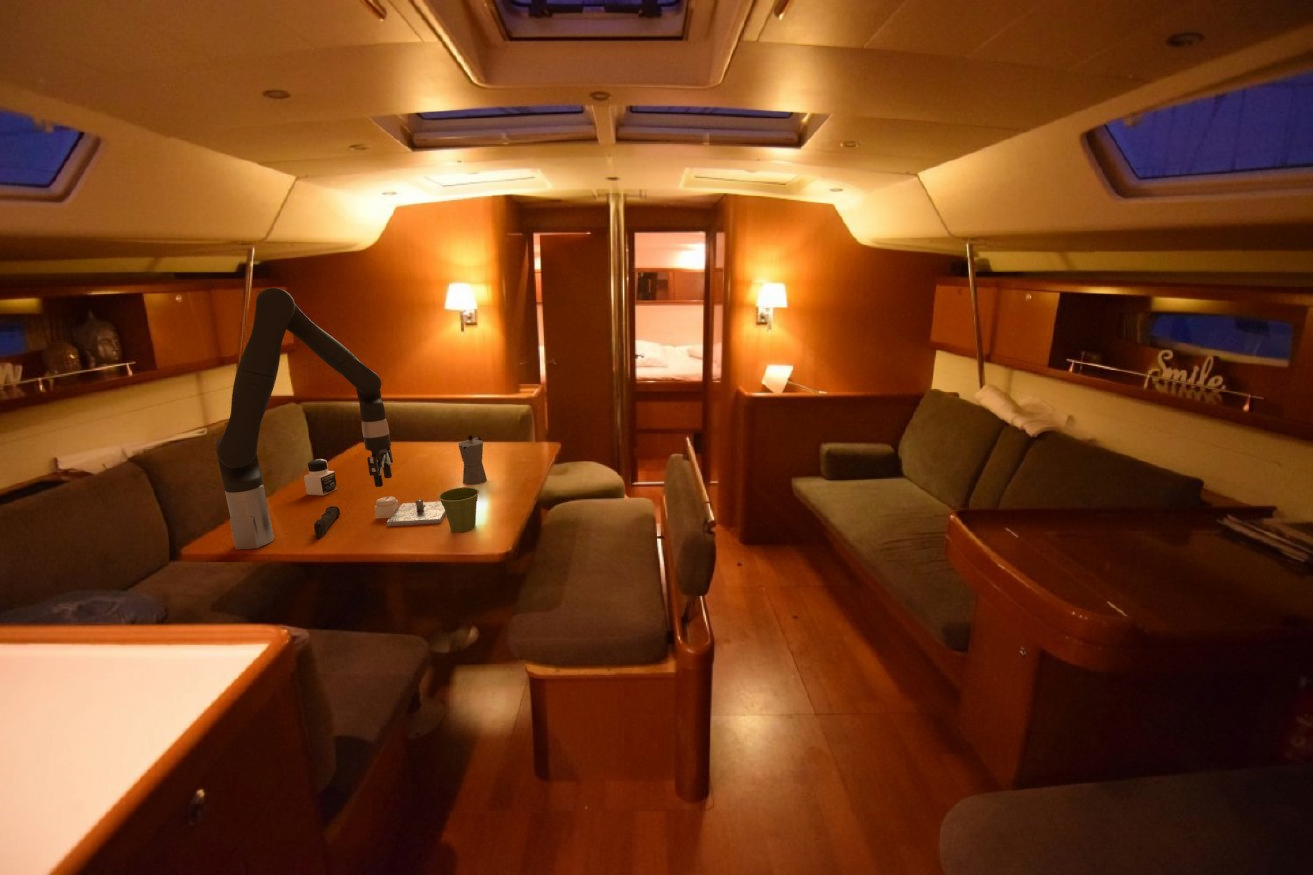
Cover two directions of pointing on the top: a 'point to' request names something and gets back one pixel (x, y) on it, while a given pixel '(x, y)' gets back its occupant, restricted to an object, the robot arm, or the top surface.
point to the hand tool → (326, 521)
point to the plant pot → (460, 507)
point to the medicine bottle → (319, 478)
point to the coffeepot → (472, 461)
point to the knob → (386, 507)
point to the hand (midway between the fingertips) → (383, 482)
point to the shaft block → (418, 514)
